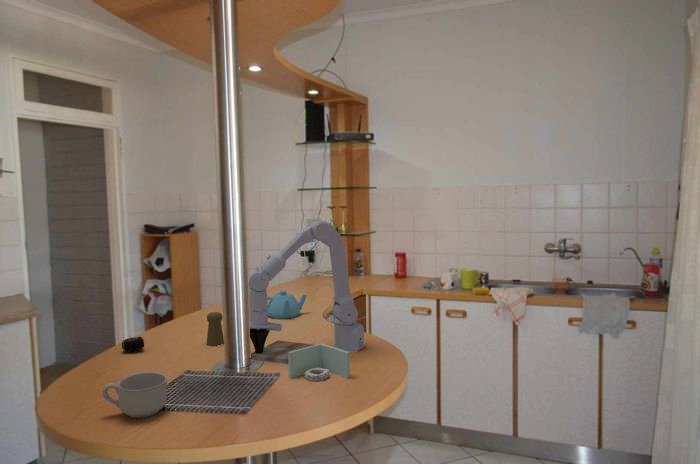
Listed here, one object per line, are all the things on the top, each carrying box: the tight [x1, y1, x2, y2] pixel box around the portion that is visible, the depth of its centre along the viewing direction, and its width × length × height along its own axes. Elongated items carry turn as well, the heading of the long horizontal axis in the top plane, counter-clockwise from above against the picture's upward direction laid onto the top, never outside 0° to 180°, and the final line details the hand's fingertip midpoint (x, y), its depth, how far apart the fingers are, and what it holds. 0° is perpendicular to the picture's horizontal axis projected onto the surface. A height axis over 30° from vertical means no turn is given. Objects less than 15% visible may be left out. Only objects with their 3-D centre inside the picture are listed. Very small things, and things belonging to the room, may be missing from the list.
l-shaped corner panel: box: [287, 343, 351, 382], centre depth 142 cm, size 12×12×8 cm
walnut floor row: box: [266, 340, 315, 350], centre depth 169 cm, size 18×7×2 cm, turn 66°
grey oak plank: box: [250, 345, 296, 365], centre depth 161 cm, size 18×10×2 cm, turn 66°
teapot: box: [267, 290, 308, 320], centre depth 220 cm, size 15×15×11 cm
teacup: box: [102, 371, 168, 419], centre depth 120 cm, size 14×11×8 cm
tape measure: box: [121, 336, 145, 353], centre depth 170 cm, size 7×7×4 cm
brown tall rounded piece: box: [206, 311, 225, 347], centre depth 177 cm, size 6×6×11 cm
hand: (259, 352), depth 162 cm, fingers closed, pressing on grey oak plank
